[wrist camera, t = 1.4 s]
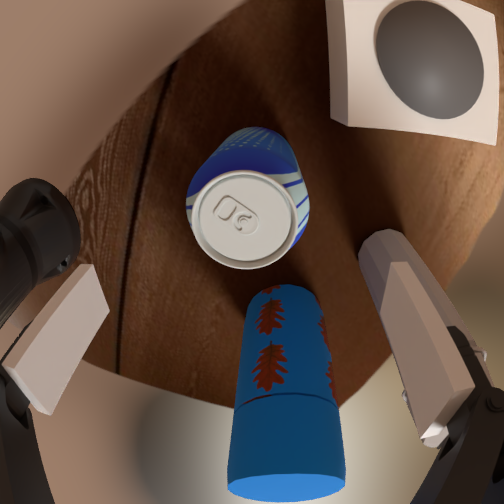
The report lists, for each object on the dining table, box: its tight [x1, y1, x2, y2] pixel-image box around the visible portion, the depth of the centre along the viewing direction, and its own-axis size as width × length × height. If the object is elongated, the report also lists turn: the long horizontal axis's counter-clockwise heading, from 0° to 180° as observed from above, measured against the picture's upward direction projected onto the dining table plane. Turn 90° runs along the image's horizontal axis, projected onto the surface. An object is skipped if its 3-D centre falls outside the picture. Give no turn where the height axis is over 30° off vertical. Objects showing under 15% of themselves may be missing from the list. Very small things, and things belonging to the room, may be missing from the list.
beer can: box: [186, 127, 309, 269], centre depth 26 cm, size 8×8×16 cm
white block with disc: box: [325, 0, 499, 146], centre depth 22 cm, size 16×14×8 cm
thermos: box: [227, 284, 346, 502], centre depth 32 cm, size 11×11×25 cm
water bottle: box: [358, 229, 494, 447], centre depth 26 cm, size 9×8×25 cm
